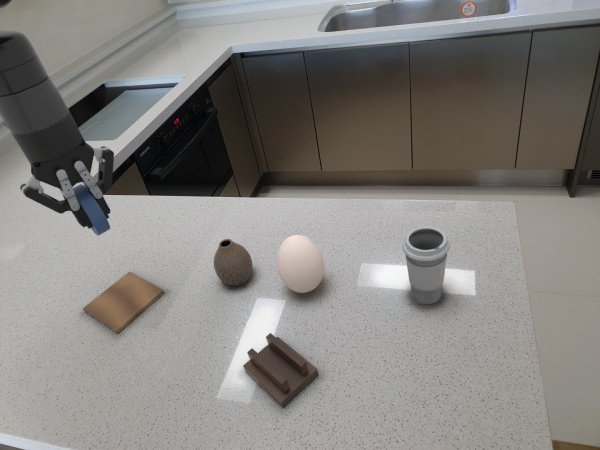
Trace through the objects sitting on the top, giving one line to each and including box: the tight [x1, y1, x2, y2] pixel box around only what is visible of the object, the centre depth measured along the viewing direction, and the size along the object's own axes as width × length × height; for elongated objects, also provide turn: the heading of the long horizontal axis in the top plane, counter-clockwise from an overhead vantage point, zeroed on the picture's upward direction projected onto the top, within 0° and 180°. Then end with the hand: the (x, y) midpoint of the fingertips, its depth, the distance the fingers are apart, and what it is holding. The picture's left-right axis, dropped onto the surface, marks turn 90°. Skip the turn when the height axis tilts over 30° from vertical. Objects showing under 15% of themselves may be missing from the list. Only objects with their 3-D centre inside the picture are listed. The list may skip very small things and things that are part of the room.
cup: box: [401, 225, 451, 305], centre depth 72 cm, size 7×7×12 cm
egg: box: [276, 234, 325, 294], centre depth 78 cm, size 8×8×11 cm
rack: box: [242, 332, 320, 409], centre depth 67 cm, size 7×9×4 cm
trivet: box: [82, 271, 165, 334], centre depth 86 cm, size 11×11×1 cm
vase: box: [213, 238, 253, 287], centre depth 84 cm, size 7×7×9 cm
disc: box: [72, 183, 111, 236], centre depth 70 cm, size 2×8×8 cm
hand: (97, 221), depth 70 cm, fingers closed on disc, 2 cm apart
